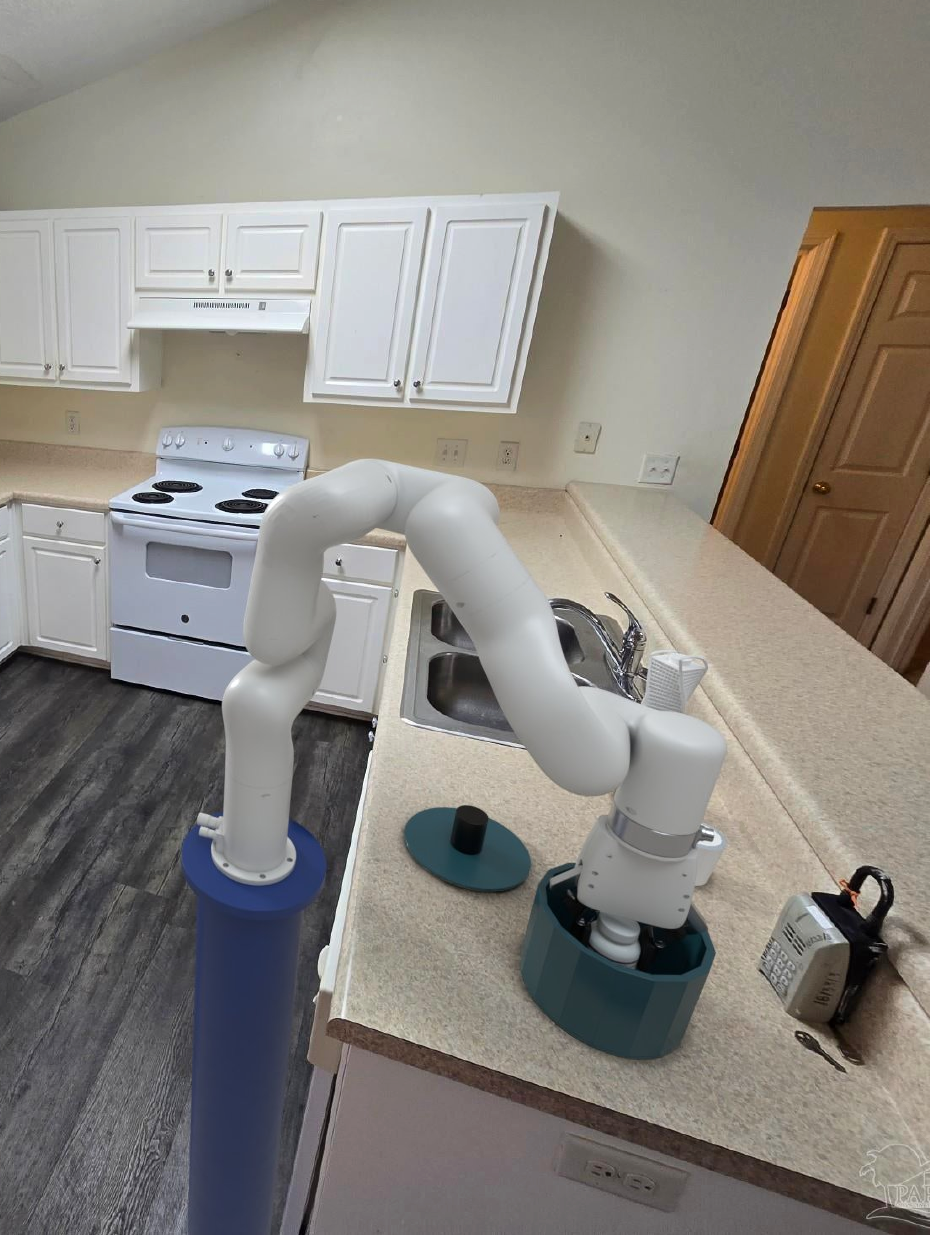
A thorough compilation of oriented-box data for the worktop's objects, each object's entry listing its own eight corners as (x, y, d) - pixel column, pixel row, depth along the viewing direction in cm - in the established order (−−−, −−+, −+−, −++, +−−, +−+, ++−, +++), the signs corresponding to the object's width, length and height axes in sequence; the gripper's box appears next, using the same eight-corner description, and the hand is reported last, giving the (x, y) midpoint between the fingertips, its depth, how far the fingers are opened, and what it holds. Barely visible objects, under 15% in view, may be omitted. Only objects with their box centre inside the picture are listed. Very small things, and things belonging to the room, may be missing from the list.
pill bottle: (574, 956, 84) (592, 895, 81) (625, 976, 82) (646, 914, 78) (571, 990, 80) (591, 927, 77) (625, 1011, 78) (648, 948, 74)
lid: (397, 872, 99) (403, 835, 96) (409, 801, 114) (414, 767, 111) (532, 910, 92) (543, 872, 90) (526, 830, 107) (535, 795, 105)
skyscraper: (668, 824, 109) (722, 664, 98) (608, 806, 113) (654, 651, 102) (666, 795, 116) (716, 643, 105) (609, 780, 119) (652, 631, 109)
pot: (522, 1024, 77) (544, 948, 73) (517, 916, 91) (534, 847, 87) (701, 1084, 71) (735, 1005, 67) (665, 959, 85) (692, 887, 81)
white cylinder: (666, 884, 97) (680, 844, 94) (647, 851, 103) (659, 812, 101) (722, 893, 96) (738, 853, 93) (699, 859, 102) (713, 820, 99)
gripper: (739, 825, 73) (689, 953, 79) (556, 785, 79) (524, 907, 86) (763, 873, 66) (707, 1008, 73) (562, 825, 72) (527, 954, 79)
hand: (609, 952), depth 79 cm, fingers closed on pill bottle, 5 cm apart
